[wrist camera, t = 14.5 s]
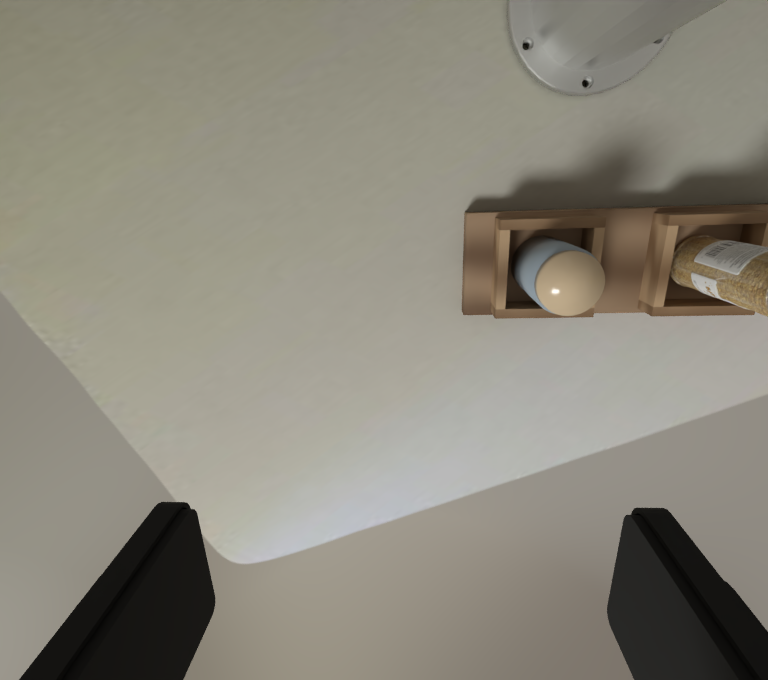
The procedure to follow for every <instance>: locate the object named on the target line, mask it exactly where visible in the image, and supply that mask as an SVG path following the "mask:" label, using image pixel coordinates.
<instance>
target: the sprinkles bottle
mask: <svg viewBox="0 0 768 680" xmlns="http://www.w3.org/2000/svg"><path fill="white" fill-rule="evenodd" d="M670 275H671V277H672V279H673V280H674V281H675V282H676V283H677V284H679V285H681V286H683V287H689V288H693V289H695V290H698V291H700V292H702V293H704V294H707V295H709V296H712V297H715V298H718V299H721V300H723V301H726V302H729V303H731V304H734V305H737V306H739V307H742V308H744V309H748V310H752V311H755V312H757V313H760V314H762V315H765V316H768V247H764V246H759V245H753V244H748V243H742V242H736V241H730V240H720V239H716V238H714V237H712V236H708V235H698V236H693V237H690V238H688V239H686V240H684V241H683V242H681V243H680V244H679V245H678V246H677V247H676V248H675V249H674V253H673V258H672V264H671V269H670Z"/></svg>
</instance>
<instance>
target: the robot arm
mask: <svg viewBox="0 0 768 680" xmlns="http://www.w3.org/2000/svg"><path fill="white" fill-rule="evenodd" d="M725 1H727V0H508V4H507V21H508V30H509V35H510V39H511V42H512V45H513V49H514V51H515V53H516V55H517V57H518V59H519V61H520V63H521V65H522V66H523V67H524V68H525V69H526V71H527V72H528V73H529V74H530V76H531V77H533V78H534V79H535V80H536V81H538V82H539V83H540V84H541V85H543V86H544V87H546V88H549V89H551V90H553V91H555V92H557V93H562V94H566V95H571V96H587V95H592V94H597V93H602V92H604V91H607V90H610V89H612V88H615V87H617V86H619V85H621V84H622V83H624V82H626V81H628V80H630V79H631V78H633V77H634V76H635V75H637V74H638V73H639V72H641V71H642V70H643V69H644V68H645V67H646V66H647V65H648V64H649V63H650V62H651V61H652V60H653V59H654V58H655V57H656V56H657V55H658V54H659V52H660V51H661V49H662V48H663V47H664V45H665V44H666V43H667V41H668V39H669V37H670V35H671V34H672V32H673V31H674V30H676V29H678V28H680V27H681V26H683V25H685V24H687V23H688V22H690V21H692V20H694V19H695V18H697V17H699V16H701V15H702V14H704V13H706V12H708V11H710V10H711V9H713V8H715V7H717V6H718V5H720V4H722V3H724V2H725ZM653 42H654V43H653ZM523 44H527V45H528V50H524V49H523V47H522V46H523ZM583 81H585V82H586V84H587V85H586V87H585V88H584V87H583V86H582V82H583ZM214 607H215V595H214V589H213V585H212V581H211V576H210V571H209V566H208V562H207V557H206V552H205V548H204V543H203V539H202V534H201V529H200V525H199V520H198V515H197V512H196V511H195V510H194V509H191V508H190V506H189V504H188V503H185V502H161V503H158V504H157V505H156V506H155V507H154V509H153V510H152V511H151V513H150V514H149V515H148V516H147V518H146V519H145V520H144V522H143V523H142V524H141V525H140V527H139V528H138V529H137V530H136V532H135V533H134V534H133V535H132V537H131V538H130V539H129V541H128V542H127V543H126V544H125V546H124V547H123V548H122V550H121V551H120V552H119V553H118V555H117V556H116V557H115V558H114V560H113V561H112V562H111V564H110V565H109V566H108V568H107V569H106V570H105V571H104V573H103V574H102V575H101V576H100V577H99V578H98V580H97V581H96V582H95V583H94V585H93V586H92V587H91V589H90V590H89V591H88V593H87V594H86V595H85V596H84V598H83V599H82V600H81V602H80V603H79V604H78V605H77V606H76V608H75V609H74V610H73V612H72V613H71V614H70V615H69V617H68V618H67V619H66V621H65V622H64V623H63V624H62V626H61V627H60V628H59V629H58V631H57V632H56V633H55V635H54V636H53V637H52V639H51V640H50V641H49V642H48V644H47V645H46V646H45V647H44V649H43V650H42V651H41V653H40V654H39V655H38V656H37V658H36V659H35V660H34V662H33V663H32V664H31V665H30V667H29V668H28V669H27V670H26V672H25V673H24V674H23V675H22V677H21V678H20V679H19V680H183V679H184V677H185V674H186V672H187V670H188V668H189V666H190V663H191V661H192V659H193V657H194V655H195V652H196V650H197V648H198V646H199V644H200V641H201V639H202V637H203V635H204V633H205V630H206V628H207V626H208V624H209V622H210V619H211V617H212V615H213V612H214ZM607 614H608V619H609V623H610V626H611V629H612V631H613V633H614V635H615V638H616V640H617V642H618V644H619V646H620V649H621V651H622V653H623V656H624V658H625V660H626V662H627V664H628V667H629V669H630V671H631V673H632V676H633V678H634V680H768V632H767V630H766V629H765V628H764V627H763V626H762V624H761V623H760V621H759V620H758V619H757V618H756V616H755V615H754V614H753V613H752V612H751V610H750V609H749V608H748V607H747V605H746V604H745V603H744V601H743V600H742V599H741V598H740V596H739V595H738V594H737V593H736V591H735V590H734V589H733V588H732V587H731V586H730V585H729V584H728V583H727V582H725V581H724V580H723V579H722V578H721V577H720V575H719V574H718V573H717V572H716V570H715V569H714V568H713V566H712V565H711V564H710V563H709V561H708V560H707V559H706V558H705V556H704V555H703V554H702V553H701V551H700V550H699V549H698V547H697V546H696V545H695V543H694V542H693V541H692V540H691V538H690V537H689V536H688V535H687V533H686V532H685V531H684V529H683V528H682V527H681V526H680V524H679V523H678V522H677V521H676V519H675V518H674V517H673V516H672V514H671V513H670V512H669V511H668V510H667V509H664V508H635V509H634V510H633V511H632V514H631V515H626V516H625V518H624V521H623V526H622V531H621V537H620V542H619V547H618V553H617V558H616V563H615V568H614V574H613V579H612V585H611V590H610V595H609V601H608V607H607Z"/></svg>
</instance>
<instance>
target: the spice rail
mask: <svg viewBox="0 0 768 680" xmlns="http://www.w3.org/2000/svg"><path fill="white" fill-rule="evenodd" d="M698 235H708V236H712V237H714V238H716V239H720V240H730V241H736V242H742V243H748V244H753V245H759V246H764V247H768V204H734V205H699V206H665V207H630V208H596V209H561V210H527V211H492V212H465V218H464V253H463V288H462V312H463V315H493V316H494V317H495V318H562V317H593V315H594V313H635V312H645V313H647V314H649V315H650V316H704V315H754V313H755V311H752V310H748V309H744V308H742V307H739V306H737V305H734V304H731V303H729V302H726V301H723V300H721V299H718V298H715V297H712V296H709V295H707V294H704V293H702V292H700V291H698V290H695V289H693V288H689V287H683V286H681V285H679V284H677V283H676V282H675V281H674V280H673V279H672V277H671V275H670V269H671V264H672V258H673V253H674V249H675V248H676V247H677V246H678V245H679V244H680V243H681V242H683V241H684V240H686V239H688V238H690V237H693V236H698ZM536 236H551V237H554V238H556V239H559V240H561V241H564V242H566V243H569V244H572V245H574V246H577V247H579V248H582V249H584V250H586V251H588V252H590V253H591V254H592V255H593V256H594V257H595V258H596V259H597V260H598V262H599V263H600V264H601V266H602V268H603V270H604V274H605V286H604V290H603V293H602V295H601V297H600V298H599V300H598V301H597V302H596V303H595V304H594V305H593V306H592V307H591V308H590V309H588V310H587V311H585V312H583V313H581V314H578V315H573V316H561V315H557V314H553V313H550V312H548V311H546V310H544V309H543V308H542V307H541V306H540V305H539V304H537V303H536V302H535V301H534V300H533V299H532V298H531V297H530V296H529V295H528V294H527V293H526V292H525V291H524V290H523V289H522V288H521V287H520V286H519V285H518V284H517V283H516V282H515V280H514V278H513V276H512V272H511V262H512V258H513V255H514V253H515V251H516V250H517V249H518V247H519V246H520V245H521V244H522V243H524V242H525V241H526V240H528V239H530V238H533V237H536Z"/></svg>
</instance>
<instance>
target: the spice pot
mask: <svg viewBox="0 0 768 680" xmlns="http://www.w3.org/2000/svg"><path fill="white" fill-rule="evenodd" d="M511 272H512V276H513V278H514V280H515V282H516V283H517V284H518V285H519V286H520V287H521V288H522V289H523V290H524V291H525V292H526V293H527V294H528V295H529V296H530V297H531V298H532V299H533V300H534V301H535V302H536V303H537V304H539V305H540V306H541V307H542V308H543V309H544V310H546V311H548V312H550V313H553V314H557V315H561V316H573V315H578V314H581V313H583V312H585V311H587V310H588V309H590V308H591V307H592V306H593V305H594V304H595V303H596V302H597V301H598V300H599V298H600V297H601V295H602V293H603V290H604V286H605V274H604V270H603V268H602V266H601V264H600V263H599V262H598V260H597V259H596V258H595V257H594V256H593V255H592V254H591V253H590V252H588V251H586V250H584V249H582V248H579V247H577V246H574V245H572V244H569V243H566V242H564V241H561V240H559V239H556V238H554V237H551V236H536V237H533V238H530V239H528V240H526V241H525V242H524V243H522V244H521V245H520V246H519V247H518V249H517V250H516V251H515V253H514V255H513V258H512V262H511Z"/></svg>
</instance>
